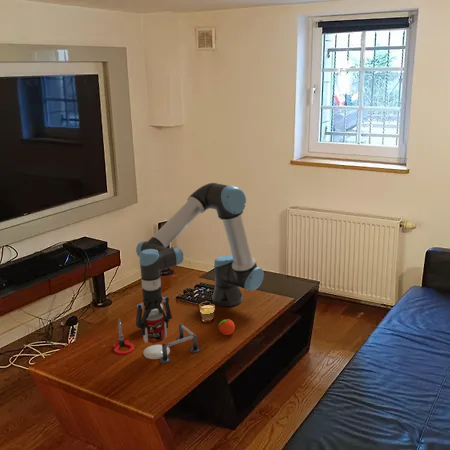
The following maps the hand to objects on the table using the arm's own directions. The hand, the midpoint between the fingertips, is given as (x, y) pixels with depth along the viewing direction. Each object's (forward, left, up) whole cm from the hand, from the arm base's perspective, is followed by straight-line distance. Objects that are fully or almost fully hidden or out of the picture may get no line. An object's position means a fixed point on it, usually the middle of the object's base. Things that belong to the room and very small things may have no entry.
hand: (155, 338), depth 227 cm
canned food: (0, 0, 0) cm, 0 cm away
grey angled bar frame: (-7, +2, -7) cm, 10 cm away
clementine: (-32, +4, -7) cm, 33 cm away
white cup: (-10, -22, -7) cm, 25 cm away
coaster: (0, 0, -7) cm, 7 cm away
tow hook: (+10, -11, -7) cm, 16 cm away
